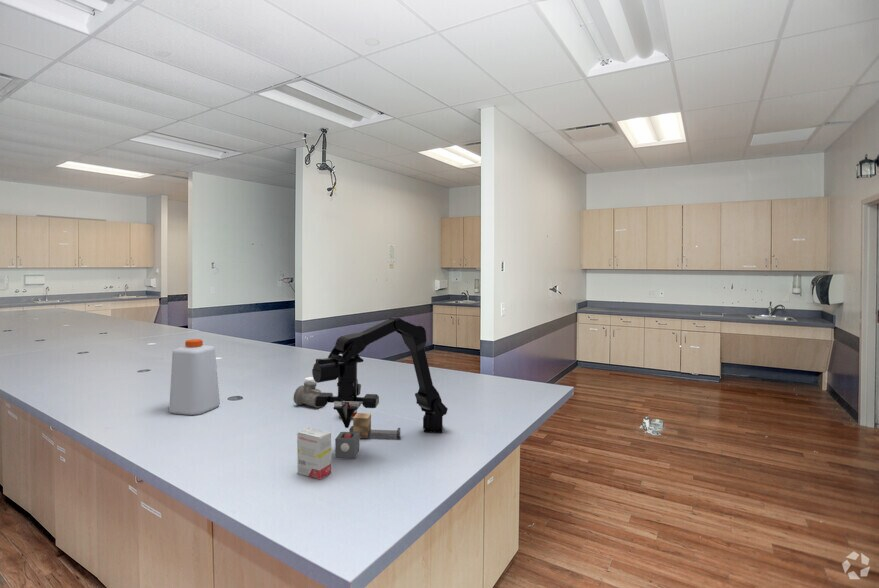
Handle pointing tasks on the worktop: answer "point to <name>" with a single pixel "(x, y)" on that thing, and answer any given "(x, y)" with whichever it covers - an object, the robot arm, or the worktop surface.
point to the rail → (382, 434)
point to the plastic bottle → (194, 379)
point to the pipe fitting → (307, 394)
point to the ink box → (314, 453)
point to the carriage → (362, 424)
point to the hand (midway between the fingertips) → (347, 427)
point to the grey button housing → (347, 445)
